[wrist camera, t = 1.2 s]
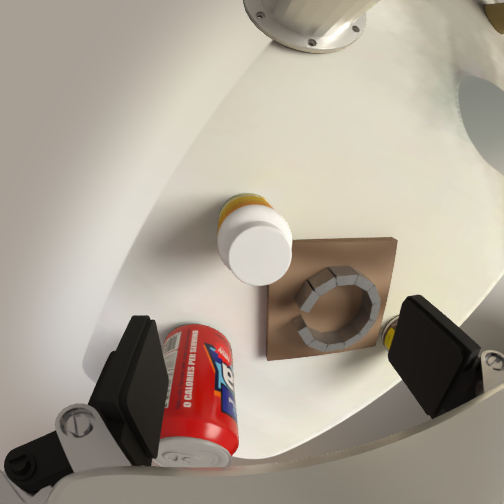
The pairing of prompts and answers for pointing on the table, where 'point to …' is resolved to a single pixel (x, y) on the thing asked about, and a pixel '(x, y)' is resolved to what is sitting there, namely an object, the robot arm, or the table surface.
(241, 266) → the supplement bottle
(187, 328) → the soda can
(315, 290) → the steel ring
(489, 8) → the cork
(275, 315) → the base plate
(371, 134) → the table surface
